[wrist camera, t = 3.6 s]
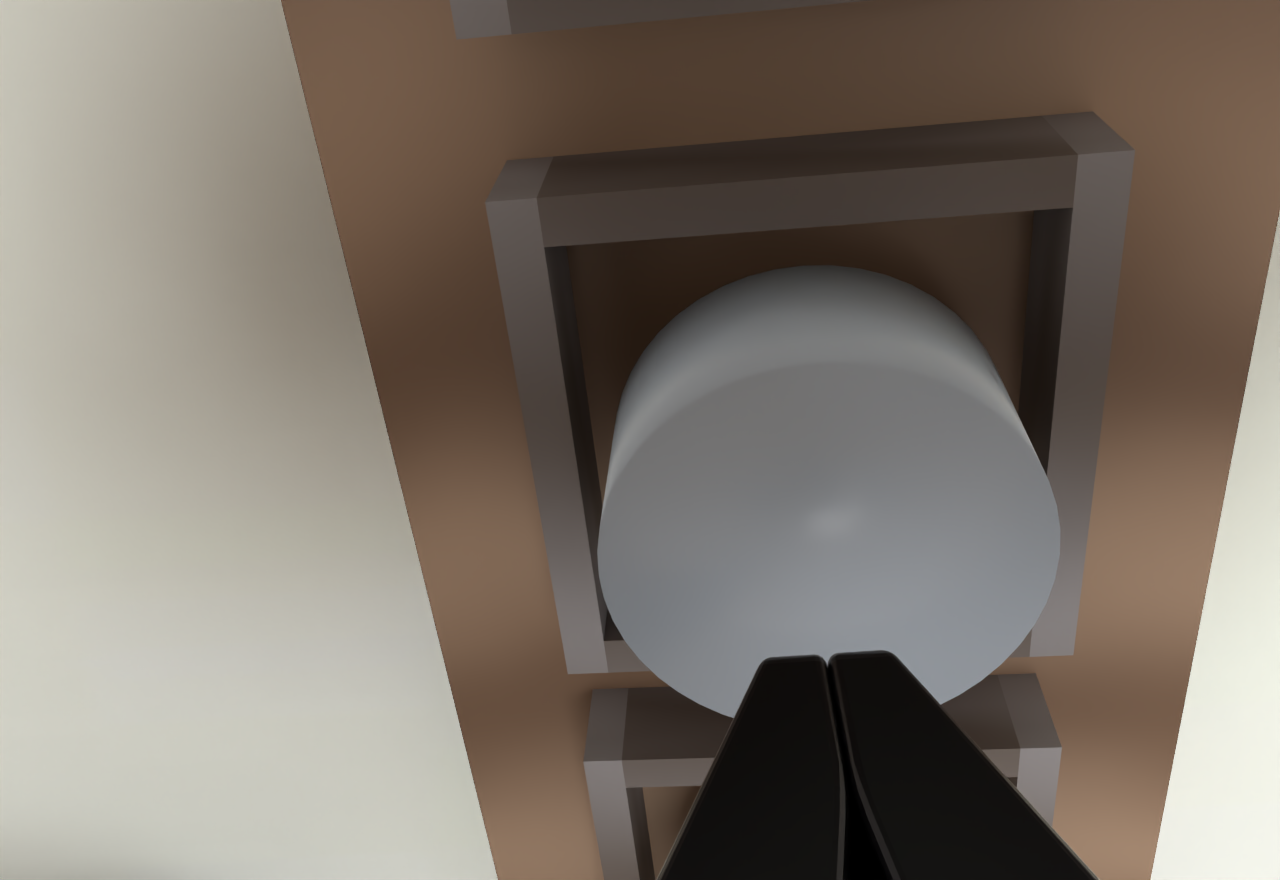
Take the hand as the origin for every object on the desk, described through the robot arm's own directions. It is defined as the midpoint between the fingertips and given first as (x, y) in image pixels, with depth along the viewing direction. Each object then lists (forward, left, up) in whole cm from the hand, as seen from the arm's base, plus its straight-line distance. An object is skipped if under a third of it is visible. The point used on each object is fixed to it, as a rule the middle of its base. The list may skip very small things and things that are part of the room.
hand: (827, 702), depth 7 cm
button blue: (-2, 0, -7) cm, 7 cm away
